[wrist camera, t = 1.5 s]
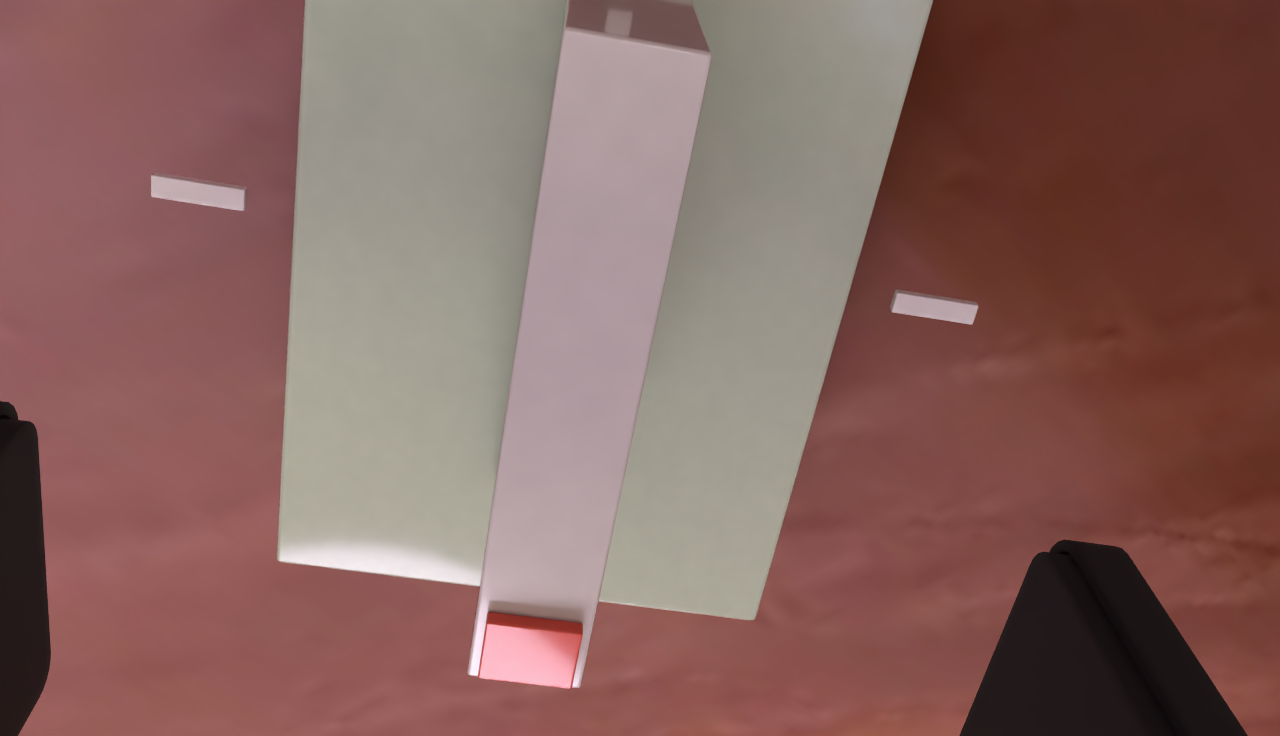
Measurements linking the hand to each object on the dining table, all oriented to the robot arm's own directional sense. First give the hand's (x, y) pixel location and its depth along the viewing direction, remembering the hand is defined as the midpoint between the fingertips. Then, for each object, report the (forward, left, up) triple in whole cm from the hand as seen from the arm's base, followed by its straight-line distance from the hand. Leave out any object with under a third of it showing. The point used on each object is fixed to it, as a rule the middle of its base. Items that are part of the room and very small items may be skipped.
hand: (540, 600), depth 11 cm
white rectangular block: (0, 0, -9) cm, 9 cm away
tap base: (+1, 0, -11) cm, 11 cm away
